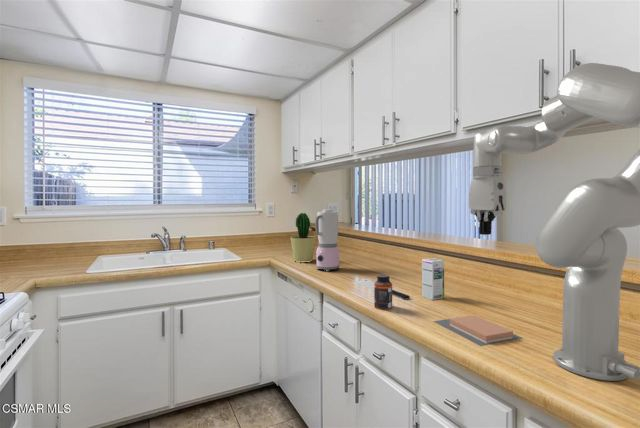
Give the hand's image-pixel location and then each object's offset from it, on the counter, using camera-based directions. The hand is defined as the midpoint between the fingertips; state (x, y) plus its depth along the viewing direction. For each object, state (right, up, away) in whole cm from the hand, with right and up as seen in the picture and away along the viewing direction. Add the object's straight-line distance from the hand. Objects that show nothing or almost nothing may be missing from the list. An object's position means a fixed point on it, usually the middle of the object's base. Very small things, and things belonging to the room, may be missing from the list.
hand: (485, 234), depth 101 cm
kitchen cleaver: (-26, -26, +35) cm, 51 cm away
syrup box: (-8, -26, +24) cm, 36 cm away
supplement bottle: (-29, -26, +12) cm, 41 cm away
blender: (-47, -24, +76) cm, 93 cm away
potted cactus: (-60, -23, +102) cm, 121 cm away
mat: (-7, -27, -8) cm, 29 cm away
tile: (-9, -25, -4) cm, 27 cm away
